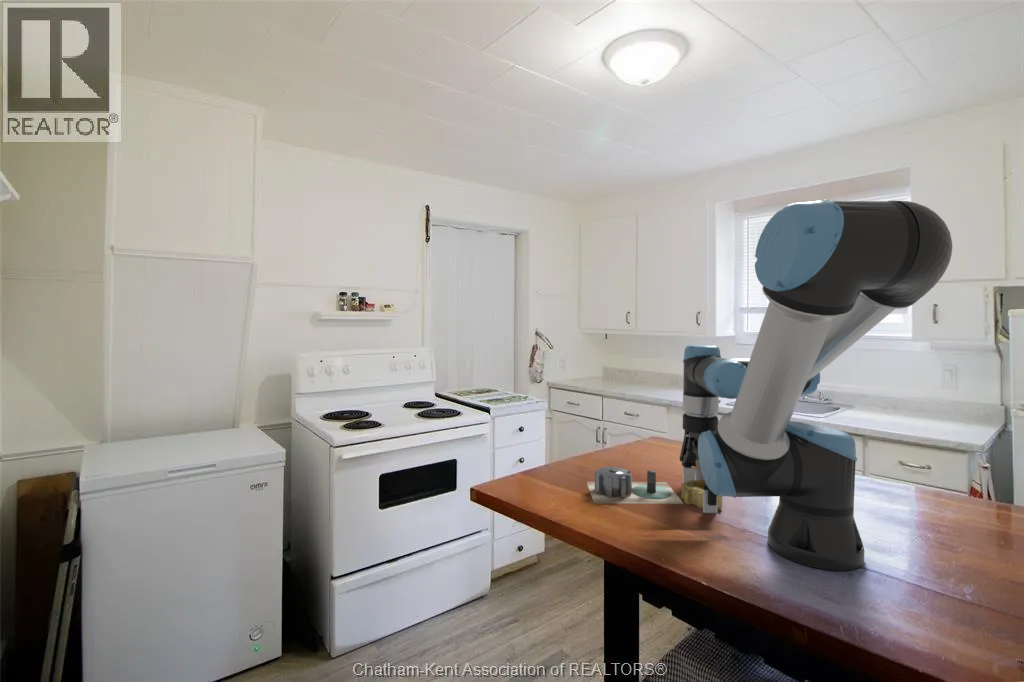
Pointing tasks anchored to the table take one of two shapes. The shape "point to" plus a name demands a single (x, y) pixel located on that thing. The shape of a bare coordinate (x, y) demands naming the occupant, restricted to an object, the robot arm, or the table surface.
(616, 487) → the gear
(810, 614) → the table surface
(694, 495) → the gear
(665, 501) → the gear board
